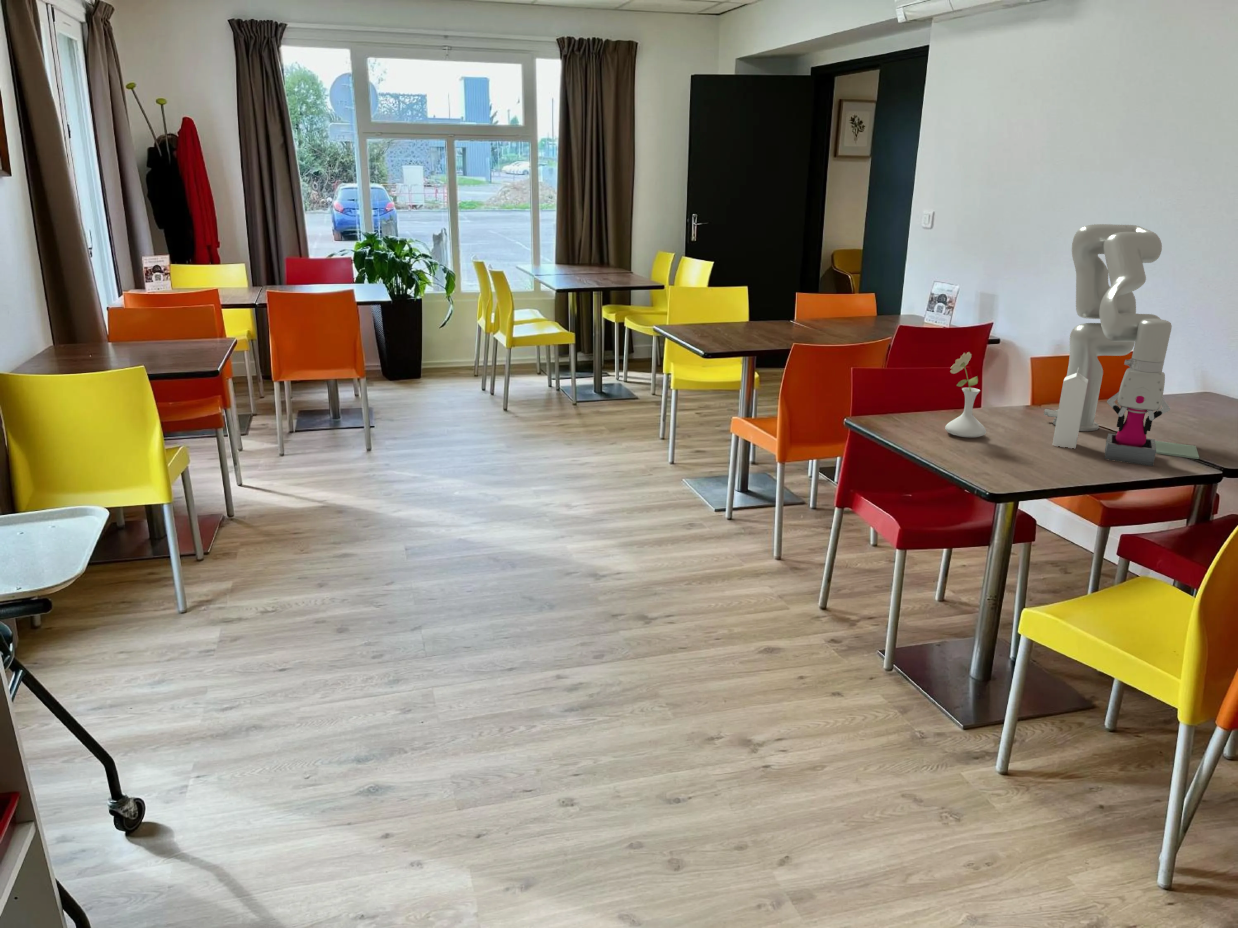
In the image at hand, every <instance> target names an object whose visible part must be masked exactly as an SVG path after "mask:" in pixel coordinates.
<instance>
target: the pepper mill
mask: <svg viewBox="0 0 1238 928" xmlns="http://www.w3.org/2000/svg"><path fill="white" fill-rule="evenodd" d="M1136 398H1137V399H1136ZM1136 398H1135V399H1136V402H1137V403H1139V404H1140V403H1143V402H1144V399H1145V398H1144V397H1143V396H1137V397H1136ZM1126 411H1127V414H1126V418H1125V419H1124V423H1123V428H1122V430H1121V431H1119V430H1118V431H1117V433H1116V434H1117V435H1116V440H1117V442H1118V444H1122V445H1129V446H1137V447H1141V446H1143V445H1144V444H1145V443H1146V438H1147V434H1144V426H1145V415H1146V414H1148V410H1141V409H1133V408H1127V410H1126Z"/></svg>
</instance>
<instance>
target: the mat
mask: <svg viewBox="0 0 1238 928" xmlns="http://www.w3.org/2000/svg"><path fill="white" fill-rule="evenodd" d="M1155 444H1156V454H1158V455H1165V456H1171V457H1173V456H1174V457H1180V458H1189V459H1193V460H1194V459H1195V460H1199V459H1200V455H1199V452H1198V449H1197V445H1190V444H1184V443H1183V444H1182V443H1175V442H1168V441H1159V440H1155ZM1156 454H1155V455H1156Z"/></svg>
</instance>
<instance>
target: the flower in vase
mask: <svg viewBox="0 0 1238 928" xmlns="http://www.w3.org/2000/svg"><path fill="white" fill-rule="evenodd" d="M972 355H973V354H972V353H971V352H970V351H968V352H967V351H966V352H963V354H962V355H960V358H957V359H955V361H954V362H955V363H953V364H952V366H951V367H950V369H951V370H950V371H949V372H950V373H951V374H953V375H954V374H957V373H960V371H962V370H963V369H964V371H965V375H966V379H962V380H960V381H958V383H957V384H956V387H961V390H962V392H963V394H964V395H963V396H964V408H963V412H962V413H961V415H959V416H958V417H956V418H954V419H952V420H950V421H949V422H948V423H947V424H946V425H945V426H944V428H945V431H946V432H947V433H949V434H951V435H953V436H955V437H962V438H980V437H983V436H984V435H986V433H987V430H986V427H985V425H983V424H982V423H981V422H980V421H979V420H978V419H977V418H976V417H975V416H974V413H973V409H974V403H975V400H976V398H977V395H978V394H979V393H980V392H981V390H980V389H978V388H975V387H973V386H975V385H977V384H978V382H979V378H978V375H977V376H974V377H972V378H970V379H969V377H968V371H967V369H966V366H967V365H968V364H969V361H971V358H972ZM966 384H967V385H968V387H963V386H964V385H966Z"/></svg>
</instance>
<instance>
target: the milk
mask: <svg viewBox="0 0 1238 928" xmlns="http://www.w3.org/2000/svg"><path fill="white" fill-rule="evenodd" d="M1078 369H1079V368H1078ZM1087 384H1088V379H1086V378H1085V377H1084V376H1082V375H1081V374H1079V373H1078V370H1077V373H1075V374H1072V375H1070V376H1067V375H1066V376H1065V377H1064V379H1063V383H1062V388H1061V393H1060V398H1059V404H1058V409H1057V410H1058V416H1057V421H1056V425H1055V428H1054V434H1053V439H1052V445H1054V446H1053V447H1058V446H1060V447H1059V448H1065V447H1068V448H1067V449H1072V448H1074V449H1073V450H1075V449H1076V447H1077V443H1078V438H1079V433H1080V431H1079V428H1080V422H1081V417H1082V412H1083V406H1084V401H1085V395H1086V390H1087Z"/></svg>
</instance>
